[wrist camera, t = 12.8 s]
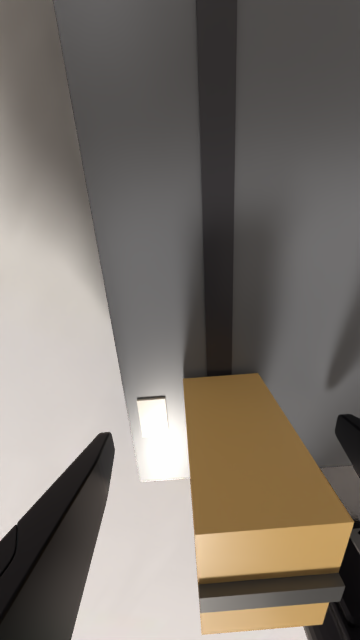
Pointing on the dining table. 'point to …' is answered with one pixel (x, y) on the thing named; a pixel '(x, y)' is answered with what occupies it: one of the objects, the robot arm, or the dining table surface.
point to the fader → (258, 511)
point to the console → (223, 203)
